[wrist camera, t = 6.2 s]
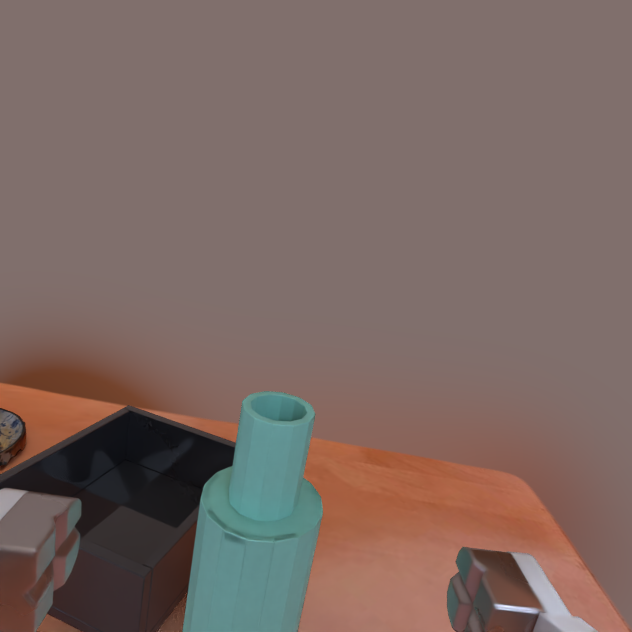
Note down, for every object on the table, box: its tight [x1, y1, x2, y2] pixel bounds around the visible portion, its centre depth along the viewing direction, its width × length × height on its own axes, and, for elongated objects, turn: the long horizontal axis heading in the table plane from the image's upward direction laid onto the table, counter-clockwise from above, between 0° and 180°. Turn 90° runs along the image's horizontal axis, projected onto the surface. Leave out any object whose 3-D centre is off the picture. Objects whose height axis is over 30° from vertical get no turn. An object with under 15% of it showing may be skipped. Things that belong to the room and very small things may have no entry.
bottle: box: [183, 391, 323, 632], centre depth 25 cm, size 6×6×20 cm
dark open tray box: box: [0, 405, 236, 632], centre depth 39 cm, size 17×15×6 cm
